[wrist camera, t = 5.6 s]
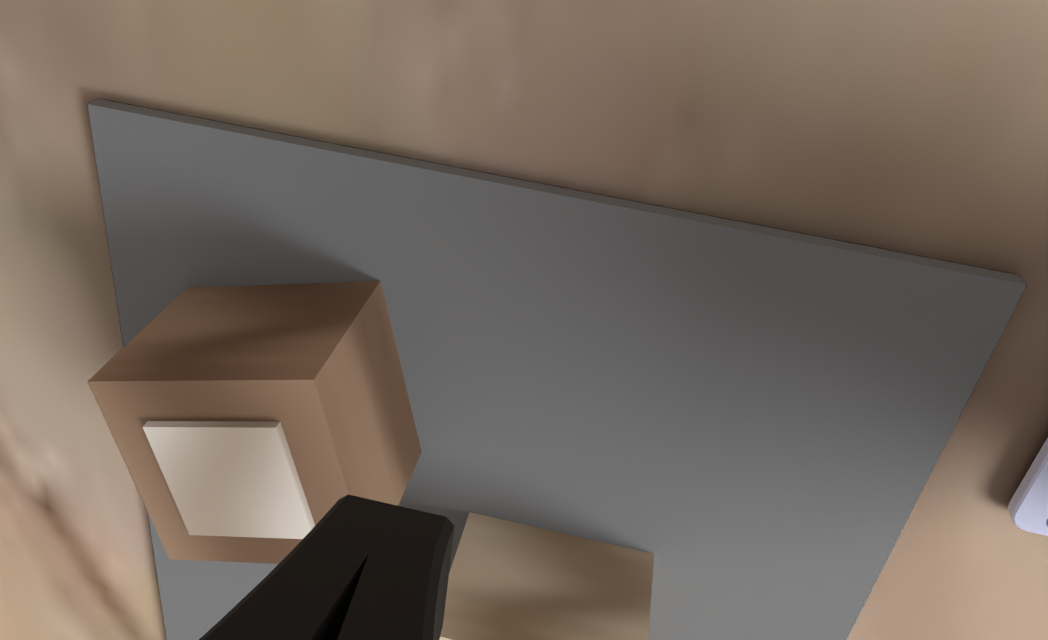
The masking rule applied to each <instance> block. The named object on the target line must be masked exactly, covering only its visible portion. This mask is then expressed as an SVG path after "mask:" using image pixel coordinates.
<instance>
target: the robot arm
mask: <svg viewBox="0 0 1048 640" xmlns="http://www.w3.org/2000/svg"><path fill="white" fill-rule="evenodd" d="M1008 511H1009V514H1010V517H1011V519H1012V521H1013V524H1014V525H1015V526H1017V527H1018V528H1019V529H1021V530H1024V531H1027V532H1032V533H1036V534H1041V535H1045V536H1048V437H1047V439H1046V441H1045V443H1044V444H1043V446H1042V448H1041V449H1040V451H1039V453H1038V454H1037V456H1036V458H1035V460H1034V461H1033V463H1032V465H1031V466H1030V468H1029V470H1028V472H1027V473H1026V475H1025V477H1024V478H1023V480H1022V482H1021V483H1020V485H1019V487H1018V489H1017V490H1016V492H1015V494H1014V495H1013V497H1012V499H1011V501H1010V502H1009V506H1008ZM453 535H454V525H453V524H452V523H451V521H450V520H449V519H448V518H447V517H445V516H441V515H437V514H432V513H428V512H423V511H419V510H415V509H410V508H406V507H401V506H397V505H393V504H388V503H384V502H379V501H375V500H371V499H366V498H362V497H357V496H353V495H349V494H348V495H346V496H344V497H342V498H341V499H339V500H338V501H337V502H336V503H335V504H334V506H333V507H332V508H331V509H330V510H329V511H328V512H327V513H326V515H325V516H324V517H323V518H322V519H321V520H320V521H319V522H318V523H317V524H316V525H315V527H314V528H313V529H312V530H311V531H310V532H309V533H308V534H307V535H306V536H305V537H304V538H303V539H302V540H301V542H300V543H299V544H298V545H297V546H296V547H295V548H294V549H293V550H292V551H291V552H290V553H289V554H288V555H287V556H286V557H285V558H284V559H283V560H282V561H281V562H280V563H279V564H278V565H277V566H276V567H275V568H274V569H273V570H272V571H271V572H270V573H269V574H268V575H267V576H266V577H265V578H264V579H263V580H262V581H261V582H260V583H259V584H258V585H257V586H256V587H255V588H254V589H253V590H251V591H250V592H249V593H248V594H247V595H246V596H245V597H244V598H243V599H242V600H241V601H240V602H239V603H238V604H237V605H236V606H235V607H234V608H232V609H231V610H230V611H229V612H228V613H227V614H226V615H225V616H224V617H223V618H222V619H221V620H220V621H219V622H218V623H217V624H216V625H214V626H213V627H212V628H211V629H210V630H209V631H208V632H207V633H206V634H204V635H203V636H202V637H201V638H200V639H199V640H439V639H440V635H441V631H442V627H443V621H444V612H445V604H446V595H447V586H448V578H449V569H450V561H451V552H452V544H453Z"/></svg>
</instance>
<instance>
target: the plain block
mask: <svg viewBox="0 0 1048 640" xmlns="http://www.w3.org/2000/svg"><path fill="white" fill-rule="evenodd" d="M653 565H654V554H653V553H648V552H644V551H639V550H635V549H630V548H626V547H622V546H617V545H613V544H608V543H604V542H600V541H595V540H591V539H586V538H582V537H577V536H573V535H569V534H564V533H560V532H555V531H551V530H547V529H542V528H538V527H533V526H529V525H524V524H520V523H516V522H511V521H507V520H502V519H498V518H494V517H489V516H485V515H480V514H476V513H471V512H469V515H468V518H467V521H466V524H465V527H464V530H463V533H462V536H461V539H460V542H459V545H458V548H457V551H456V554H455V557H454V560H453V563H452V566H451V569H450V572H449V578H448V586H447V595H446V604H445V612H444V621H443V627H442V631H441V635H440V639H439V640H648V637H649V622H650V608H651V594H652V579H653Z"/></svg>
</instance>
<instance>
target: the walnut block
mask: <svg viewBox="0 0 1048 640" xmlns="http://www.w3.org/2000/svg"><path fill="white" fill-rule="evenodd" d="M88 384H89V386H90V388H91V390H92V392H93V394H94V397H95V399H96V401H97V403H98V405H99V407H100V410H101V412H102V414H103V416H104V418H105V420H106V423H107V425H108V427H109V429H110V431H111V433H112V436H113V438H114V440H115V442H116V444H117V446H118V449H119V451H120V453H121V455H122V457H123V460H124V462H125V464H126V466H127V468H128V470H129V473H130V475H131V477H132V479H133V481H134V483H135V486H136V488H137V490H138V492H139V494H140V496H141V499H142V501H143V503H144V505H145V507H146V509H147V512H148V514H149V516H150V518H151V520H152V522H153V525H154V527H155V529H156V531H157V533H158V535H159V538H160V540H161V542H162V544H163V546H164V549H165V551H166V553H167V555H168V557H169V559H176V560H199V561H222V562H245V563H268V564H279V563H280V562H281V561H282V560H283V559H284V558H285V557H286V556H287V555H288V554H289V553H290V552H291V551H292V550H293V549H294V548H295V547H296V546H297V545H298V544H299V543H300V542H301V540H302V539H303V538H304V537H305V536H306V535H307V534H308V533H309V532H310V531H311V530H312V529H313V528H314V527H315V525H316V524H317V523H318V522H319V521H320V520H321V519H322V518H323V517H324V516H325V515H326V513H327V512H328V511H329V510H330V509H331V508H332V507H333V506H334V504H335V503H336V502H337V501H338V500H339V499H341V498H342V497H344V496H346V495H348V494H349V495H353V496H357V497H362V498H366V499H371V500H375V501H379V502H384V503H388V504H393V505H397V506H398V505H399V503H400V500H401V498H402V496H403V493H404V491H405V489H406V487H407V484H408V482H409V480H410V477H411V475H412V473H413V471H414V468H415V466H416V464H417V461H418V459H419V457H420V454H421V452H422V451H421V447H420V443H419V438H418V434H417V430H416V426H415V422H414V418H413V414H412V409H411V405H410V401H409V397H408V393H407V389H406V385H405V380H404V376H403V372H402V368H401V364H400V360H399V356H398V351H397V347H396V343H395V339H394V335H393V331H392V327H391V322H390V318H389V314H388V310H387V306H386V302H385V298H384V294H383V289H382V285H381V281H364V282H335V283H307V284H278V285H249V286H220V287H191V288H186V289H185V290H184V291H183V292H182V293H181V294H180V295H179V296H178V297H177V298H176V299H174V300H173V301H172V302H171V303H170V304H169V305H168V306H167V307H166V308H165V309H164V310H163V311H162V312H161V313H160V314H159V315H158V316H156V317H155V318H154V319H153V320H152V321H151V322H150V323H149V324H148V325H147V326H146V327H145V328H144V329H143V330H142V331H141V332H140V333H138V334H137V335H136V336H135V337H134V338H133V339H132V340H131V341H130V342H129V343H128V344H127V345H126V346H125V347H124V348H123V349H122V350H120V351H119V352H118V353H117V354H116V355H115V356H114V357H113V358H112V359H111V360H110V361H109V362H108V363H107V364H106V365H105V366H104V367H102V368H101V369H100V370H99V371H98V372H97V373H96V374H95V375H94V376H93V377H92V378H91V379H90V380H89V381H88Z"/></svg>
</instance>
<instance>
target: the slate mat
mask: <svg viewBox="0 0 1048 640" xmlns="http://www.w3.org/2000/svg"><path fill="white" fill-rule="evenodd" d="M87 105H88V111H89V118H90V125H91V132H92V138H93V145H94V152H95V159H96V165H97V172H98V179H99V186H100V192H101V199H102V206H103V213H104V219H105V226H106V233H107V240H108V246H109V253H110V260H111V267H112V273H113V280H114V287H115V294H116V300H117V307H118V314H119V321H120V327H121V334H122V341H123V348H124V347H125V346H126V345H127V344H128V343H129V342H130V341H131V340H132V339H133V338H134V337H135V336H136V335H137V334H138V333H140V332H141V331H142V330H143V329H144V328H145V327H146V326H147V325H148V324H149V323H150V322H151V321H152V320H153V319H154V318H155V317H156V316H158V315H159V314H160V313H161V312H162V311H163V310H164V309H165V308H166V307H167V306H168V305H169V304H170V303H171V302H172V301H173V300H174V299H176V298H177V297H178V296H179V295H180V294H181V293H182V292H183V291H184V290H185V289H186V288H191V287H220V286H249V285H278V284H307V283H335V282H364V281H381V285H382V289H383V294H384V298H385V302H386V306H387V310H388V314H389V318H390V322H391V327H392V331H393V335H394V339H395V343H396V347H397V351H398V356H399V360H400V364H401V368H402V372H403V376H404V380H405V385H406V389H407V393H408V397H409V401H410V405H411V409H412V414H413V418H414V422H415V426H416V430H417V434H418V438H419V443H420V447H421V451H422V452H421V454H420V457H419V459H418V461H417V464H416V466H415V468H414V471H413V473H412V475H411V477H410V480H409V482H408V484H407V487H406V489H405V491H404V493H403V496H402V498H401V500H400V503H399V505H398V506H401V507H406V508H410V509H415V510H419V511H423V512H428V513H432V514H437V515H441V516H445V517H447V518H448V519H449V520H450V521H451V523H452V524H453V525H454V535H453V544H452V552H451V561H450V569H451V566H452V563H453V560H454V557H455V554H456V551H457V548H458V545H459V542H460V539H461V536H462V533H463V530H464V527H465V524H466V521H467V518H468V515H469V512H471V513H476V514H480V515H485V516H489V517H494V518H498V519H502V520H507V521H511V522H516V523H520V524H524V525H529V526H533V527H538V528H542V529H547V530H551V531H555V532H560V533H564V534H569V535H573V536H577V537H582V538H586V539H591V540H595V541H600V542H604V543H608V544H613V545H617V546H622V547H626V548H630V549H635V550H639V551H644V552H648V553H653V554H654V565H653V579H652V594H651V608H650V622H649V637H648V640H846V639H847V637H848V636H849V634H850V632H851V630H852V628H853V626H854V624H855V622H856V620H857V618H858V616H859V614H860V612H861V610H862V608H863V606H864V604H865V602H866V600H867V598H868V596H869V594H870V592H871V590H872V588H873V586H874V584H875V582H876V580H877V578H878V576H879V574H880V572H881V570H882V568H883V566H884V565H885V563H886V561H887V559H888V557H889V555H890V553H891V551H892V549H893V547H894V545H895V543H896V541H897V539H898V537H899V535H900V533H901V531H902V529H903V527H904V525H905V523H906V521H907V519H908V517H909V515H910V513H911V511H912V509H913V507H914V505H915V503H916V501H917V499H918V497H919V496H920V494H921V492H922V490H923V488H924V486H925V484H926V482H927V480H928V478H929V476H930V474H931V472H932V470H933V468H934V466H935V464H936V462H937V460H938V458H939V456H940V454H941V452H942V450H943V448H944V446H945V444H946V442H947V440H948V438H949V436H950V434H951V432H952V430H953V428H954V427H955V425H956V423H957V421H958V419H959V417H960V415H961V413H962V411H963V409H964V407H965V405H966V403H967V401H968V399H969V397H970V395H971V393H972V391H973V389H974V387H975V385H976V383H977V381H978V379H979V377H980V375H981V373H982V371H983V369H984V367H985V365H986V363H987V361H988V359H989V358H990V356H991V354H992V352H993V350H994V348H995V346H996V344H997V342H998V340H999V338H1000V336H1001V334H1002V332H1003V330H1004V328H1005V326H1006V324H1007V322H1008V320H1009V318H1010V316H1011V314H1012V312H1013V310H1014V308H1015V306H1016V304H1017V302H1018V300H1019V298H1020V296H1021V294H1022V292H1023V290H1024V289H1025V287H1026V283H1025V282H1024V280H1023V279H1022V277H1021V276H1020V275H1015V274H1010V273H1005V272H1000V271H995V270H989V269H984V268H979V267H974V266H968V265H963V264H958V263H953V262H948V261H942V260H937V259H932V258H927V257H921V256H916V255H911V254H906V253H901V252H895V251H890V250H885V249H880V248H875V247H869V246H864V245H859V244H854V243H848V242H843V241H838V240H833V239H828V238H822V237H817V236H812V235H807V234H801V233H796V232H791V231H786V230H781V229H775V228H770V227H765V226H760V225H754V224H749V223H744V222H739V221H734V220H728V219H723V218H718V217H713V216H708V215H702V214H697V213H692V212H687V211H681V210H676V209H671V208H666V207H661V206H655V205H650V204H645V203H640V202H634V201H629V200H624V199H619V198H614V197H608V196H603V195H598V194H593V193H588V192H582V191H577V190H572V189H567V188H561V187H556V186H551V185H546V184H541V183H535V182H530V181H525V180H520V179H514V178H509V177H504V176H499V175H494V174H488V173H483V172H478V171H473V170H468V169H462V168H457V167H452V166H447V165H441V164H436V163H431V162H426V161H421V160H415V159H410V158H405V157H400V156H394V155H389V154H384V153H379V152H374V151H368V150H363V149H358V148H353V147H347V146H342V145H337V144H332V143H327V142H321V141H316V140H311V139H306V138H301V137H295V136H290V135H285V134H280V133H274V132H269V131H264V130H259V129H254V128H248V127H243V126H238V125H233V124H227V123H222V122H217V121H212V120H207V119H201V118H196V117H191V116H186V115H181V114H175V113H170V112H165V111H160V110H154V109H149V108H144V107H139V106H134V105H128V104H123V103H118V102H113V101H107V100H102V99H97V100H95V101H93V102H91V103H89V104H87ZM148 517H149V523H150V530H151V537H152V544H153V550H154V557H155V564H156V571H157V577H158V584H159V591H160V598H161V604H162V611H163V618H164V625H165V631H166V638H167V640H199V639H200V638H201V637H202V636H203V635H204V634H206V633H207V632H208V631H209V630H210V629H211V628H212V627H213V626H214V625H216V624H217V623H218V622H219V621H220V620H221V619H222V618H223V617H224V616H225V615H226V614H227V613H228V612H229V611H230V610H231V609H232V608H234V607H235V606H236V605H237V604H238V603H239V602H240V601H241V600H242V599H243V598H244V597H245V596H246V595H247V594H248V593H249V592H250V591H251V590H253V589H254V588H255V587H256V586H257V585H258V584H259V583H260V582H261V581H262V580H263V579H264V578H265V577H266V576H267V575H268V574H269V573H270V572H271V571H272V570H273V569H274V568H275V567H276V566H277V565H278V564H268V563H245V562H222V561H199V560H176V559H169V557H168V555H167V553H166V551H165V549H164V546H163V544H162V542H161V540H160V538H159V535H158V533H157V531H156V529H155V527H154V525H153V522H152V520H151V518H150V516H149V514H148ZM450 569H449V572H450Z"/></svg>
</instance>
